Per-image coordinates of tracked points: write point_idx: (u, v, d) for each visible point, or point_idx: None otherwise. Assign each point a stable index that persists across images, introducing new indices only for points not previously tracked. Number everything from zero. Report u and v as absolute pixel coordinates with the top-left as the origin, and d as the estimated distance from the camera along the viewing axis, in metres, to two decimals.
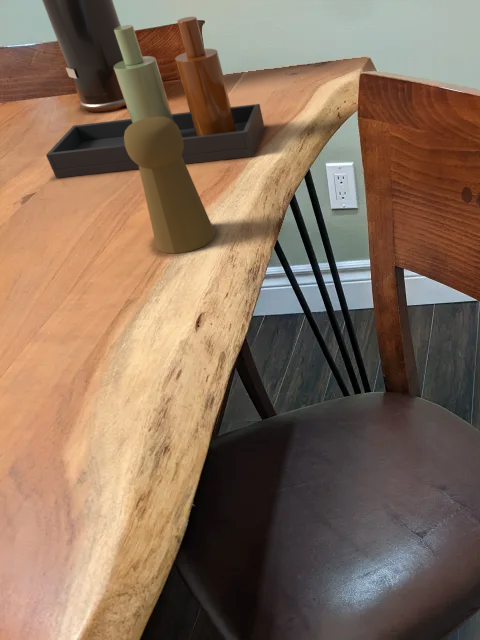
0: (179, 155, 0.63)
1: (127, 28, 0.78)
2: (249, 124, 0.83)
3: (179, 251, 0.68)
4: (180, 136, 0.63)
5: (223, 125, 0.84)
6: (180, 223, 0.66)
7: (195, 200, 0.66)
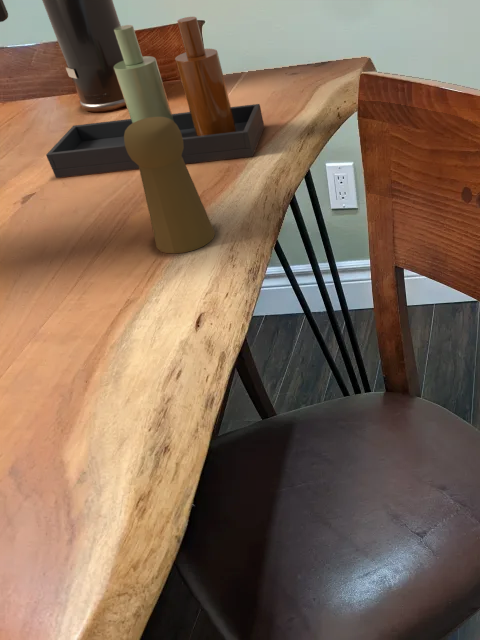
0: (179, 155, 0.63)
1: (127, 28, 0.78)
2: (249, 124, 0.83)
3: (179, 251, 0.68)
4: (180, 136, 0.63)
5: (223, 125, 0.84)
6: (180, 223, 0.66)
7: (195, 200, 0.66)
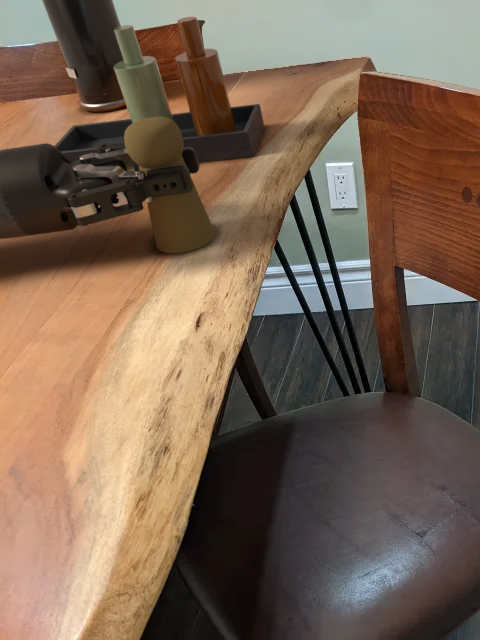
0: (179, 155, 0.63)
1: (127, 28, 0.78)
2: (249, 124, 0.83)
3: (179, 251, 0.68)
4: (180, 136, 0.63)
5: (223, 125, 0.84)
6: (180, 223, 0.66)
7: (195, 200, 0.66)
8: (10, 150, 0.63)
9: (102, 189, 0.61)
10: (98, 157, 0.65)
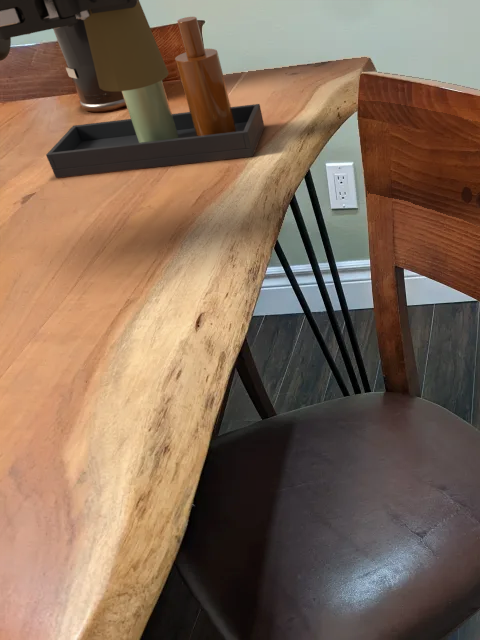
0: None
1: None
2: (249, 124, 0.83)
3: (125, 88, 0.57)
4: None
5: (223, 125, 0.84)
6: (124, 50, 0.56)
7: (142, 23, 0.56)
8: None
9: None
10: None
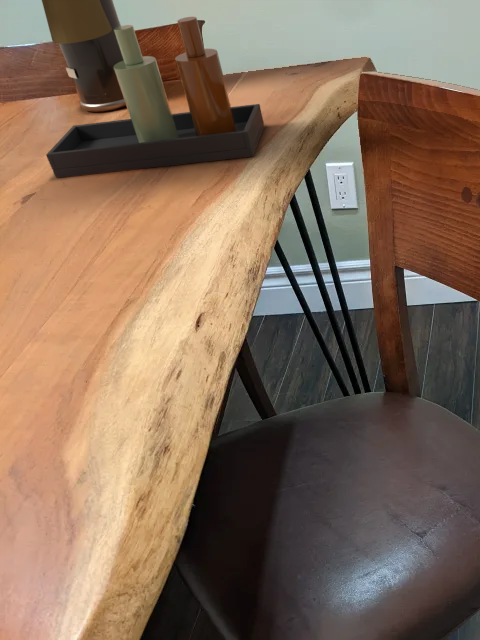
0: None
1: (127, 28, 0.78)
2: (249, 124, 0.83)
3: (71, 41, 0.68)
4: None
5: (223, 125, 0.84)
6: (70, 8, 0.67)
7: None
8: None
9: None
10: None
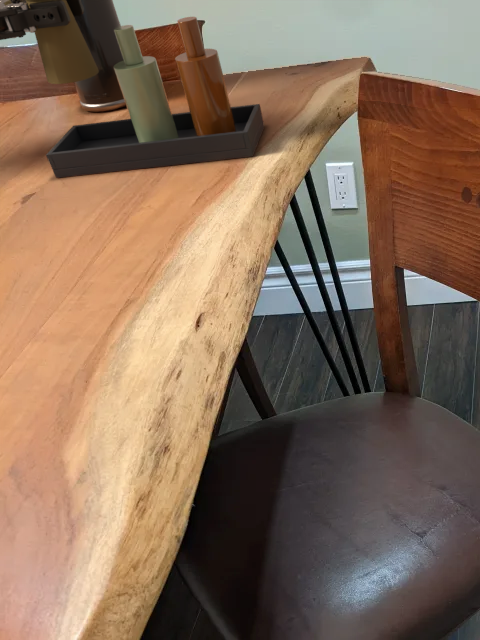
0: None
1: (127, 28, 0.78)
2: (249, 124, 0.83)
3: (63, 82, 0.80)
4: None
5: (223, 125, 0.84)
6: (61, 55, 0.78)
7: (75, 36, 0.79)
8: None
9: None
10: None
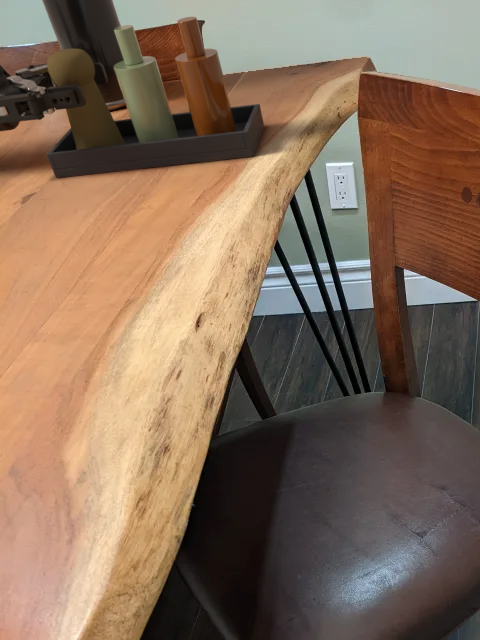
0: (90, 79, 0.82)
1: (127, 28, 0.78)
2: (249, 124, 0.83)
3: None
4: (90, 64, 0.81)
5: (223, 125, 0.84)
6: (92, 134, 0.85)
7: (105, 117, 0.85)
8: None
9: (10, 96, 0.78)
10: (29, 71, 0.83)
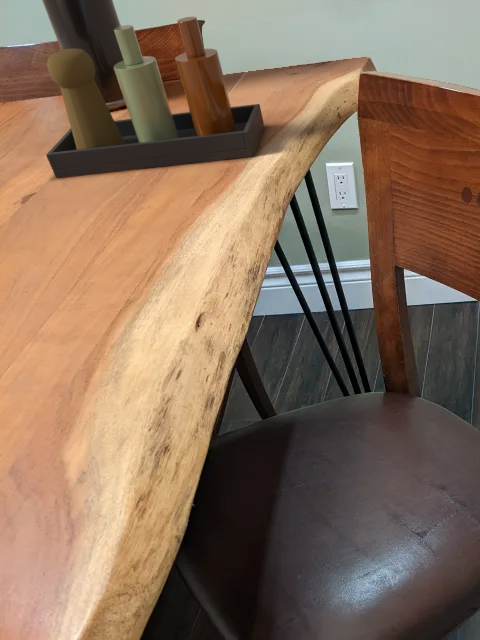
0: (90, 79, 0.82)
1: (127, 28, 0.78)
2: (249, 124, 0.83)
3: None
4: (90, 64, 0.81)
5: (223, 125, 0.84)
6: (92, 134, 0.85)
7: (105, 117, 0.85)
8: None
9: None
10: None
